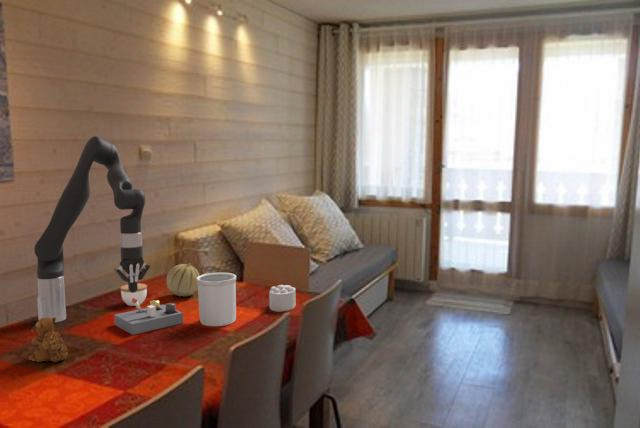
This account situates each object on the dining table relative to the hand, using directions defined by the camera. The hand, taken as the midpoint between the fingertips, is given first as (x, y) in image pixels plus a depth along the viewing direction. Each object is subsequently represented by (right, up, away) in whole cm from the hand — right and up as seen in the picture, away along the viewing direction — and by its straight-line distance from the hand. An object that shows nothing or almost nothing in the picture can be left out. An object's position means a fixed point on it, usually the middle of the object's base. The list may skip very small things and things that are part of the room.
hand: (133, 292), depth 201 cm
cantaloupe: (+6, -9, +50) cm, 52 cm away
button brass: (+3, -9, +15) cm, 18 cm away
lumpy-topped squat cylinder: (+52, -11, +31) cm, 62 cm away
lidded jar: (-12, -11, +38) cm, 41 cm away
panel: (+3, -14, +10) cm, 17 cm away
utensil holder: (+28, -13, +13) cm, 34 cm away
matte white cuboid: (+5, -10, +6) cm, 13 cm away
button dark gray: (+11, -9, +11) cm, 18 cm away
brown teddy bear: (-17, -18, -25) cm, 35 cm away
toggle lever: (-1, -9, +12) cm, 15 cm away
